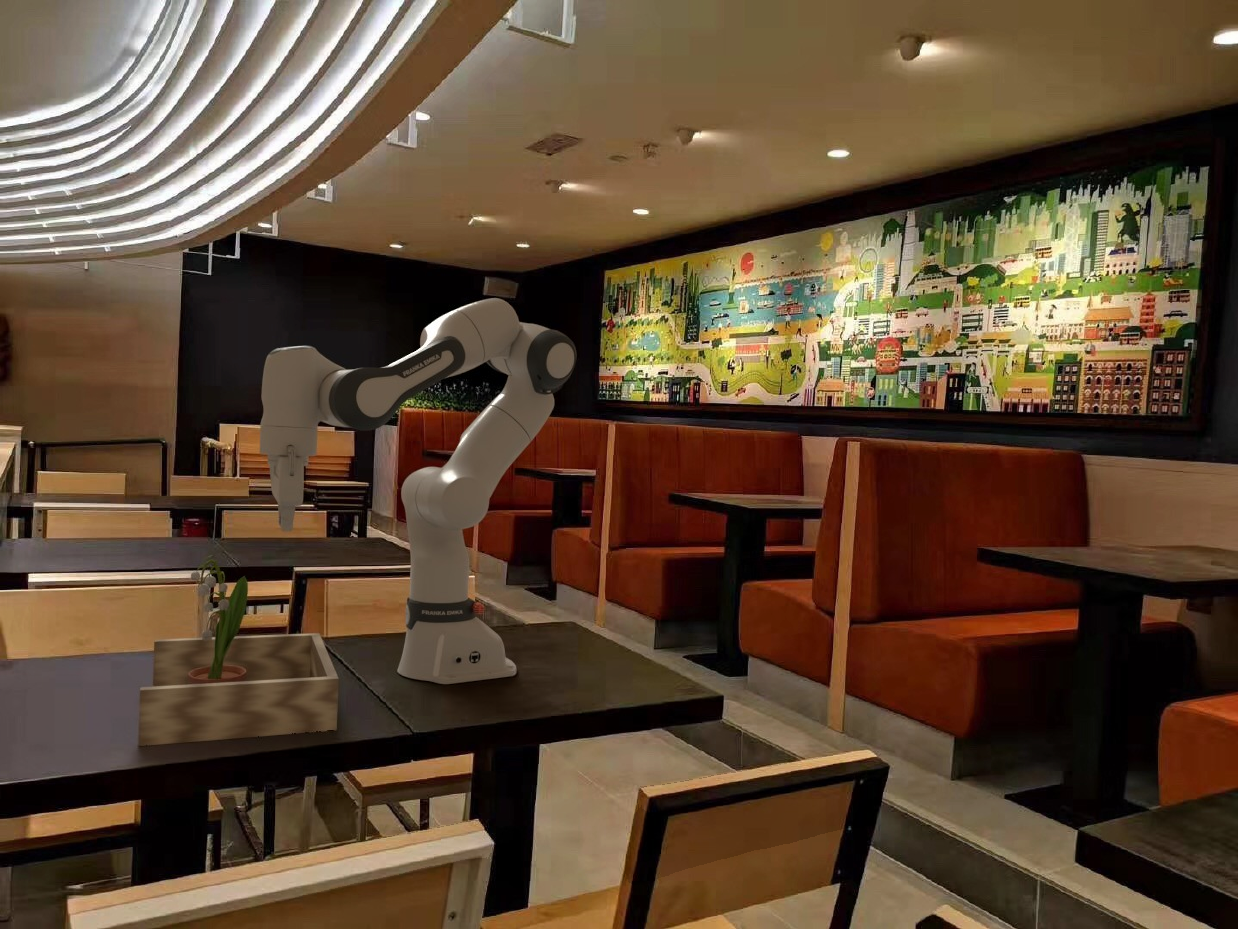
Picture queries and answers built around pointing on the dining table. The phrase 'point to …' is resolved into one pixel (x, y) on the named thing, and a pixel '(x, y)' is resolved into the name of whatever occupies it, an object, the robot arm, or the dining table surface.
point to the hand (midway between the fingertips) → (285, 528)
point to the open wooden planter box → (239, 690)
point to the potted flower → (221, 627)
